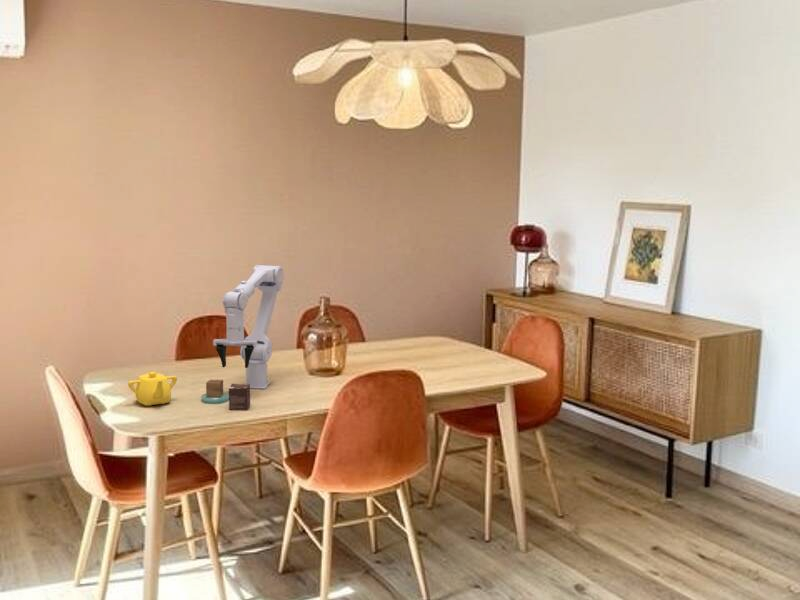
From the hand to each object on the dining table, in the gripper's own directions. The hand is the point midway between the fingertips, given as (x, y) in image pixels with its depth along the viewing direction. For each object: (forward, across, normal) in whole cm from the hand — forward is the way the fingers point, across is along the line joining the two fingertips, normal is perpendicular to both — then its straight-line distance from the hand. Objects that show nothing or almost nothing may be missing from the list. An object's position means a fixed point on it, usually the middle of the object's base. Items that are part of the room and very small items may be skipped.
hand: (235, 366), depth 277 cm
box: (+11, +4, -12) cm, 17 cm away
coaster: (+11, -6, -4) cm, 13 cm away
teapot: (+11, -25, -10) cm, 29 cm away
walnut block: (+9, -6, -5) cm, 12 cm away
